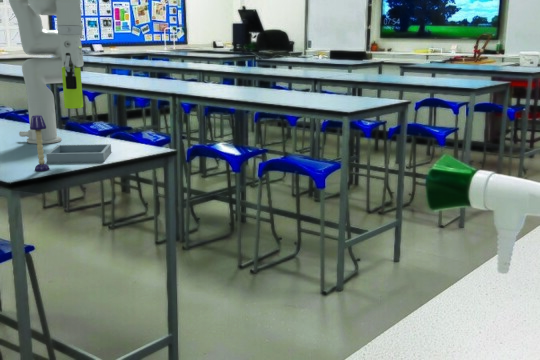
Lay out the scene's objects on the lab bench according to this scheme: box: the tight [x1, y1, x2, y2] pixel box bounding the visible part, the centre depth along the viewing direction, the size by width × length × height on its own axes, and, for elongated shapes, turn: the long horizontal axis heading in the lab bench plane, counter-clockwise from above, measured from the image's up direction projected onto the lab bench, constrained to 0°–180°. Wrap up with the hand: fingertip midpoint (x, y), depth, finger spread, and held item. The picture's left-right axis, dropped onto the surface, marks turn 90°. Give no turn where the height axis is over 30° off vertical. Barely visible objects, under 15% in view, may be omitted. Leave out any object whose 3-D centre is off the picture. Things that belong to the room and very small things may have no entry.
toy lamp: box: [29, 115, 50, 172], centre depth 183 cm, size 5×5×17 cm
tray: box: [45, 143, 112, 164], centre depth 202 cm, size 18×16×3 cm
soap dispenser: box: [62, 46, 84, 110], centre depth 196 cm, size 6×7×20 cm
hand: (73, 87), depth 197 cm, fingers closed on soap dispenser, 6 cm apart
